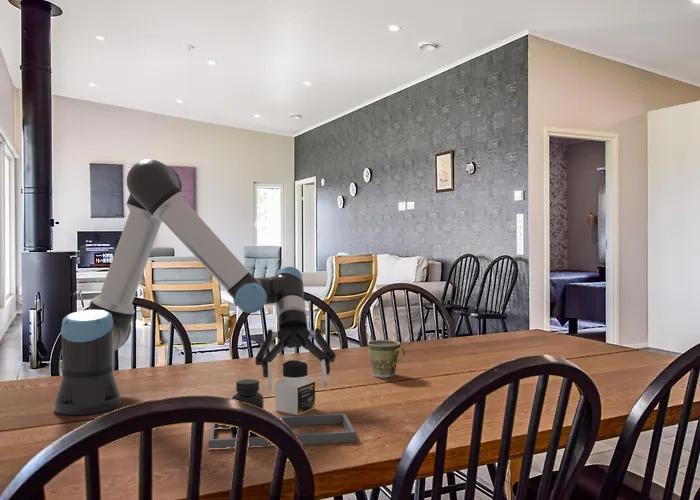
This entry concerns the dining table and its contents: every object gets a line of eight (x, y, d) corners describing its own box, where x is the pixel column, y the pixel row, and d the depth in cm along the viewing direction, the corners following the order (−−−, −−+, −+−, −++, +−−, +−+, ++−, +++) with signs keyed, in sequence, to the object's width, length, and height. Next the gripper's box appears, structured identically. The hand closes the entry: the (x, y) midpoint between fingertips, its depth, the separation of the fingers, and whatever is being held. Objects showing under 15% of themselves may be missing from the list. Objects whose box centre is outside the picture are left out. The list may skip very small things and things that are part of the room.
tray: (208, 450, 119) (208, 440, 119) (211, 429, 132) (211, 420, 132) (355, 441, 125) (355, 432, 125) (344, 421, 138) (344, 413, 137)
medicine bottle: (298, 416, 142) (298, 366, 141) (274, 411, 146) (274, 362, 145) (315, 408, 148) (315, 360, 147) (292, 404, 152) (292, 357, 151)
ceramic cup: (360, 375, 182) (360, 342, 181) (381, 370, 189) (381, 338, 189) (393, 383, 173) (394, 348, 172) (414, 377, 180) (414, 344, 180)
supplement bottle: (256, 444, 123) (256, 386, 123) (225, 441, 124) (225, 384, 124) (268, 433, 130) (267, 378, 129) (238, 430, 131) (238, 376, 131)
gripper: (336, 323, 165) (346, 391, 151) (245, 326, 161) (246, 396, 147) (339, 306, 160) (349, 376, 146) (245, 309, 155) (246, 380, 141)
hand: (298, 386), depth 146 cm, fingers open, 13 cm apart
